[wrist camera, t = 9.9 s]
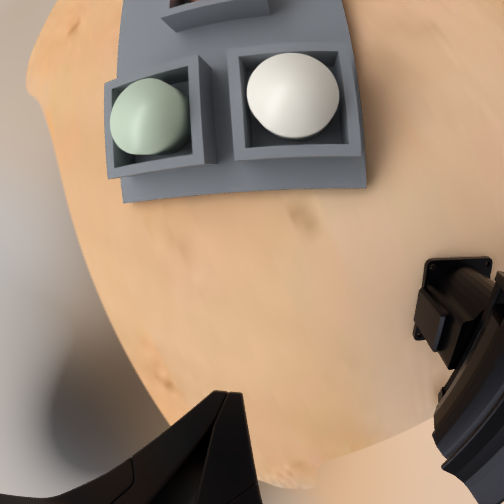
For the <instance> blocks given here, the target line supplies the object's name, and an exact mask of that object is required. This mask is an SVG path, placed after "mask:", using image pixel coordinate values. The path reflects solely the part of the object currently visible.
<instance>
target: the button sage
mask: <svg viewBox="0 0 504 504" xmlns="http://www.w3.org/2000/svg"><path fill="white" fill-rule="evenodd" d="M110 130H111V134H112V137H113V139H114V141H115V143H116V144H117V145H118V147H119V148H121V149H122V150H123V151H125V152H127V153H130V154H143V155H168V154H172V153H175V152H177V151H178V150H180V149H181V148H183V147H184V146H185V145H186V144H187V143H188V142H189V140H190V139H191V138H192V136H191V120H190V102H189V96H187V95H186V94H185V93H183V92H181V91H179V90H178V89H176V88H174V87H172V86H170V85H169V84H167V83H165V82H163V81H161V80H158V79H154V78H147V79H142V80H139V81H136V82H134V83H132V84H131V85H129V86H128V87H127V88H126V89H125V90H124V91H123V92H122V93H121V94H120V95H119V97H118V98H117V100H116V101H115V104H114V106H113V108H112V112H111V116H110Z"/></svg>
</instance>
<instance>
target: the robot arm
mask: <svg viewBox="0 0 504 504" xmlns="http://www.w3.org/2000/svg"><path fill="white" fill-rule="evenodd" d="M487 262H488V263H487ZM486 263H487V265H486ZM431 264H433V267H432V268H431V269H430V265H431ZM491 269H492V259H491V258H489V257H487V256H483V257H459V258H432V259H428V260H427V261H426V263H425V266H424V274H423V281H422V288H421V289H420V290H419V294H418V300H417V305H416V311H415V316H414V321H415V325H414V330H413V337H414V338H415V340H418V341H419V340H426V341H427V343H428V344H429V346H430V348H431V349H432V350H433V352H438V353H439V354H440V356H441V358H442V359H443V361H444V363H445V365H446V366H447V368H448V369H449V370H452V369H455V370H454V372H453V373H452V375H451V377H450V378H449V380H448V382H447V383H446V385H445V386H444V387H442V389H441V390H440V392H439V393H438V405H437V407H436V410H435V413H434V429H435V431H434V432H433V434H432V436H433V439H434V441H435V444H436V446H437V448H438V449H439V450H440V452H441V453H442V455H443V456H444V457H445V458H446V459H447V460H446V461H445V462H444V463H443V464H442V466H441V468H442V469H443V470H444V471H447V472H449V473H451V474H453V475H455V476H456V477H457V478H458V479H460V480H461V481H462V482H463V483H464V484H465V485H466V486H467V487H468V489H469V490H470V492H471V493H472V495H473V496H474V498H475V499H476V501H477V502H478V504H501V503H502V502H503V501H504V272H501V271H497V274H496V277H495V281H496V282H493V281H492V280H491V279H490V274H491ZM420 332H421V333H420ZM418 333H420V334H419V335H418ZM0 504H263V503H262V499H261V495H260V490H259V485H258V480H257V475H256V469H255V464H254V458H253V453H252V447H251V441H250V436H249V430H248V424H247V418H246V412H245V406H244V399H243V394H242V393H241V392H229V393H228V392H227V391H219V390H215V391H213V392H211V393H210V394H209V395H208V396H207V397H206V398H204V399H203V400H202V401H201V402H200V403H199V404H197V405H196V406H195V407H194V408H193V409H191V410H190V411H189V412H188V413H187V414H185V415H184V416H183V417H182V418H180V419H179V420H178V421H177V422H176V423H174V424H173V425H172V426H171V427H169V428H168V429H167V430H165V431H164V432H163V433H162V434H160V435H159V436H158V437H156V438H155V439H154V440H153V441H151V442H150V443H149V444H147V445H146V446H145V447H143V448H142V449H141V450H139V451H138V452H136V453H135V454H134V455H132V458H131V457H129V458H128V459H127V460H125V461H124V462H122V463H121V464H120V465H118V466H116V467H115V468H113V469H112V470H110V471H109V472H107V473H105V474H103V475H101V476H99V477H98V478H96V479H94V480H92V481H90V482H88V483H86V484H83V485H81V486H79V487H77V488H75V489H72V490H71V491H68V492H66V493H63V494H61V495H58V496H54V497H49V498H32V497H21V496H13V495H6V494H0Z"/></svg>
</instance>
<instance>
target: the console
mask: <svg viewBox="0 0 504 504" xmlns="http://www.w3.org/2000/svg"><path fill="white" fill-rule="evenodd" d="M283 53H299V54H304V55H308V56H310V57H313V58H315V59H317V60H318V61H320V62H321V63H323V64H324V65H325V66H326V67H327V68H328V69H329V70H330V71H331V73H332V74H333V76H334V78H335V80H336V82H337V85H338V89H339V103H338V107H337V109H336V112H335V114H334V115H333V117H332V118H331V120H330V121H329V123H328V124H327V126H326V127H325V128H324V130H323V131H322V132H320V133H319V134H318V135H316V136H315V137H313V138H310V139H308V140H304V141H287V140H283V139H280V138H278V137H276V136H274V135H273V134H271V133H270V132H269V131H267V130H266V129H265V127H264V126H263V125H262V124H261V123H260V122H259V120H258V119H257V118H256V117H255V116H254V114H253V113H252V111H251V109H250V107H249V104H248V100H247V86H248V82H249V79H250V77H251V75H252V73H253V72H254V70H255V69H256V68H257V67H258V66H259V65H260V64H261V63H262V62H263V61H265V60H266V59H268V58H270V57H272V56H275V55H279V54H283ZM147 78H154V79H158V80H161V81H163V82H165V83H167V84H169V85H170V86H172V87H174V88H176V89H178V90H179V91H181V92H183V93H185V94H186V95H187V96H189V102H190V120H191V136H192V138H191V139H190V140H189V142H188V143H187V144H186V145H185V146H184V147H183V148H181V149H180V150H178V151H177V152H175V153H172V154H168V155H143V154H130V153H127V152H125V151H123V150H122V149H121V148H119V147H118V145H117V144H116V143H115V141H114V139H113V137H112V134H111V130H110V116H111V112H112V108H113V106H114V104H115V101H116V100H117V98H118V97H119V95H120V94H121V93H122V92H123V91H124V90H125V89H126V88H127V87H128V86H129V85H131V84H132V83H134V82H136V81H139V80H142V79H147ZM104 125H105V148H106V163H107V174H108V179H115V178H121V188H122V196H123V203H131V202H139V201H147V200H155V199H164V198H174V197H184V196H194V195H205V194H218V193H231V192H246V191H264V190H286V189H320V188H366V160H365V144H364V131H363V120H362V110H361V101H360V93H359V86H358V79H357V72H356V66H355V60H354V54H353V49H352V44H351V39H350V34H349V29H348V25H347V21H346V16H345V12H344V8H343V4H342V1H341V0H199V1H195V2H191V3H190V1H189V0H124V1H123V8H122V16H121V24H120V34H119V46H118V62H117V79H114V80H112V81H109V82H107V83H105V86H104Z"/></svg>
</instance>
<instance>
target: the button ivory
mask: <svg viewBox="0 0 504 504" xmlns="http://www.w3.org/2000/svg"><path fill="white" fill-rule="evenodd" d="M247 100H248V104H249V107H250V109H251V111H252V113H253V114H254V116H255V117H256V118H257V119H258V120H259V122H260V123H261V124H262V125H263V126H264V127H265V129H266V130H267V131H269V132H270V133H271V134H273V135H274V136H276V137H278V138H280V139H283V140H287V141H304V140H308V139H310V138H313V137H315V136H316V135H318V134H319V133H320V132H322V131H323V130H324V128H325V127H326V126H327V124H328V123H329V121H330V120H331V118H332V117H333V115H334V114H335V112H336V109H337V107H338V103H339V89H338V85H337V82H336V80H335V78H334V76H333V74H332V73H331V71H330V70H329V69H328V68H327V67H326V66H325V65H324V64H323V63H321V62H320V61H318V60H317V59H315V58H313V57H310V56H308V55H304V54H299V53H283V54H279V55H275V56H272V57H270V58H268V59H266V60H265V61H263V62H262V63H261V64H260V65H259V66H258V67H257V68H256V69H255V70H254V72H253V73H252V75H251V77H250V79H249V82H248V86H247Z"/></svg>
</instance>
